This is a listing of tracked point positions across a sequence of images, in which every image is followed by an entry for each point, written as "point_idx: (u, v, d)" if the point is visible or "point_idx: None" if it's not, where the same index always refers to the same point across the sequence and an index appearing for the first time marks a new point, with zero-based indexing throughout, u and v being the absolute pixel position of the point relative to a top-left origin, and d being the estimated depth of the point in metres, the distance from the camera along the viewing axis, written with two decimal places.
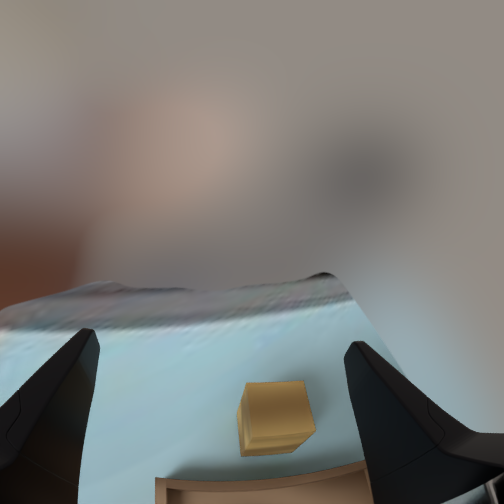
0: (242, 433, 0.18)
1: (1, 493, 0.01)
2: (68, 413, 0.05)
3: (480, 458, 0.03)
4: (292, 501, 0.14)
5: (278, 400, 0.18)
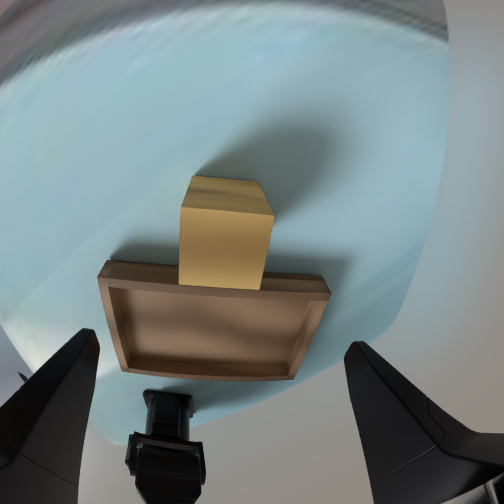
0: None
1: (1, 493, 0.01)
2: (68, 413, 0.05)
3: (480, 458, 0.03)
4: (228, 298, 0.22)
5: (222, 241, 0.14)
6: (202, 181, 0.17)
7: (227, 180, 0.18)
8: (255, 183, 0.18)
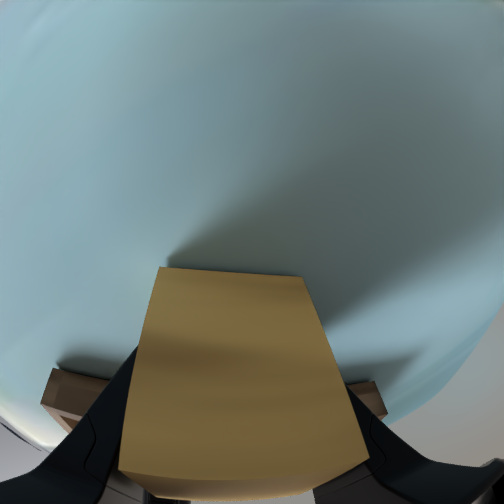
0: None
1: None
2: None
3: (420, 498, 0.03)
4: None
5: (237, 490, 0.04)
6: (178, 294, 0.07)
7: (236, 282, 0.08)
8: (297, 285, 0.08)
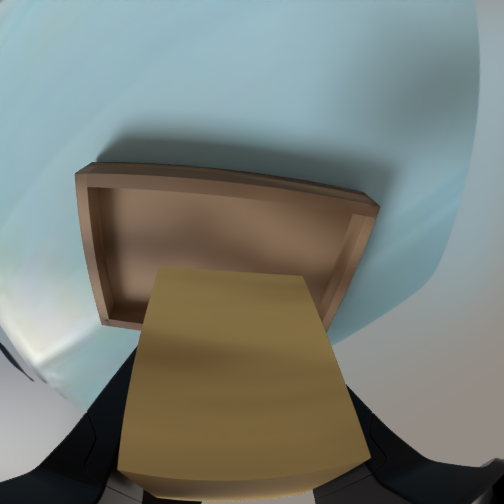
0: None
1: None
2: None
3: (420, 498, 0.03)
4: (246, 211, 0.17)
5: (237, 491, 0.04)
6: (178, 293, 0.07)
7: (237, 280, 0.08)
8: (298, 284, 0.08)
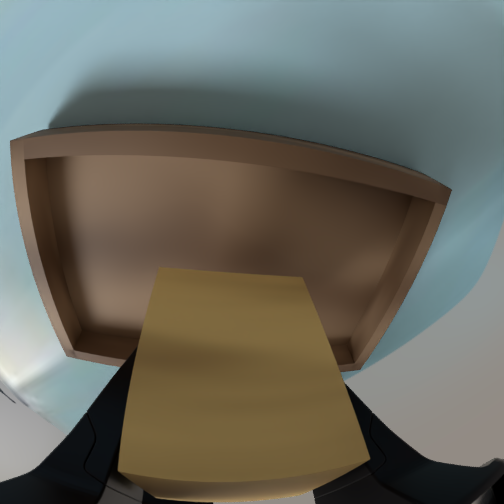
0: None
1: None
2: None
3: (420, 497, 0.03)
4: (266, 193, 0.10)
5: (237, 492, 0.04)
6: (178, 294, 0.07)
7: (236, 282, 0.08)
8: (297, 285, 0.08)
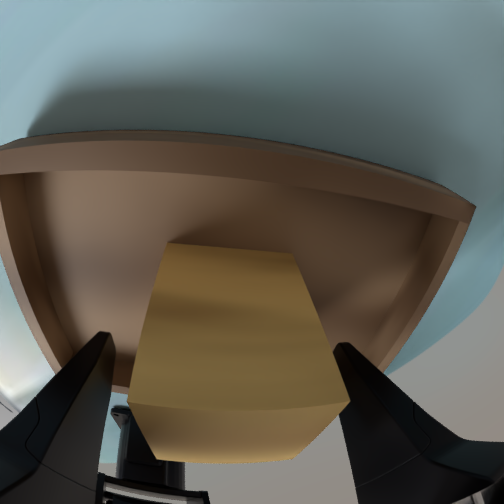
0: None
1: None
2: (87, 418, 0.05)
3: (466, 468, 0.03)
4: (272, 211, 0.09)
5: (232, 437, 0.05)
6: (183, 263, 0.08)
7: (234, 255, 0.09)
8: (288, 259, 0.10)
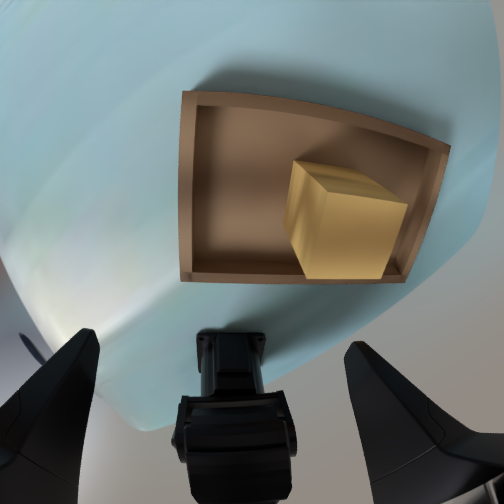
0: (294, 215, 0.16)
1: (1, 493, 0.01)
2: (68, 413, 0.05)
3: (480, 457, 0.03)
4: (348, 145, 0.16)
5: (361, 230, 0.12)
6: (310, 166, 0.15)
7: (331, 166, 0.16)
8: (356, 171, 0.16)
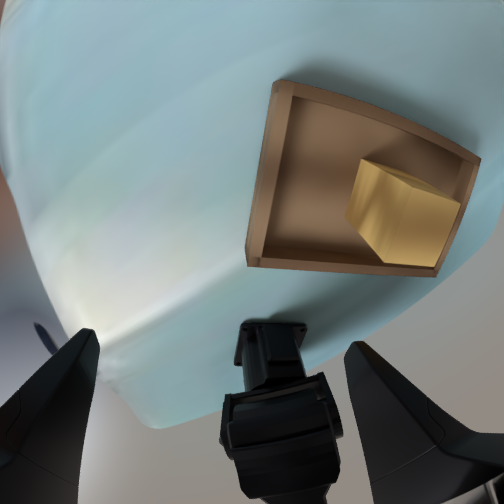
0: (363, 207, 0.17)
1: (1, 493, 0.01)
2: (68, 413, 0.05)
3: (480, 458, 0.03)
4: (403, 150, 0.17)
5: (428, 222, 0.13)
6: (378, 165, 0.16)
7: (391, 168, 0.17)
8: (409, 174, 0.17)
